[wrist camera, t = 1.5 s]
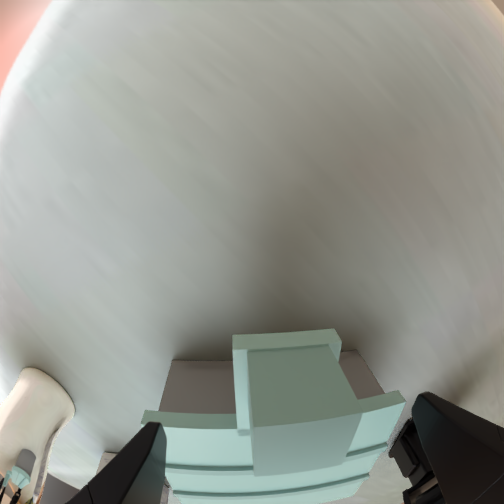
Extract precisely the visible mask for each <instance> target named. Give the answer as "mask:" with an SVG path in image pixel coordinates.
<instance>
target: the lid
mask: <svg viewBox="0 0 504 504" xmlns="http://www.w3.org/2000/svg"><path fill="white" fill-rule="evenodd" d="M341 345H342V341H341V339H340V337H339V336H338V334H337V333H336V331H335V329H334V328H332V329H322V330H311V331H298V332H284V333H266V334H243V335H232V352H233V369H234V385H235V401H236V414H195V413H174V412H160V411H149V410H145V412H144V415H143V418H142V421H141V426H142V428H143V427H144V426H145V425H146V423H147V422H149V421H154V422H160V423H161V424H162V426H163V428H164V431H165V434H166V437H167V449H166V465H165V476H166V478H167V480H168V482H169V484H170V485H171V487H172V489H173V495H174V496H175V497H178V499H179V501H180V502H181V504H320V503H325V502H329V501H334V500H338V499H342V498H347V497H350V496H353V495H354V494H355V492H356V491H357V489H358V488H359V487H360V485H361V484H362V482H363V481H365V480H367V479H368V478H369V471H370V470H371V468H372V466H373V465H374V463H375V461H376V460H377V458H378V456H379V455H380V453H381V452H384V451H385V450H386V449H387V447H388V445H387V443H386V442H387V440H388V438H389V436H390V435H391V433H392V431H393V429H394V427H395V425H396V423H397V421H398V419H399V417H400V414H401V412H402V410H403V408H404V406H405V404H406V401H405V399H404V398H403V396H402V395H401V393H400V392H399V390H397V391H393V392H390V393H386V394H382V395H377V396H373V397H369V398H364V399H359V400H357V398H356V396H355V394H354V392H353V390H352V388H351V386H350V384H349V382H348V380H347V379H346V377H345V375H344V373H343V371H342V369H341V367H340V365H339V363H338V361H339V356H340V350H341Z"/></svg>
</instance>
